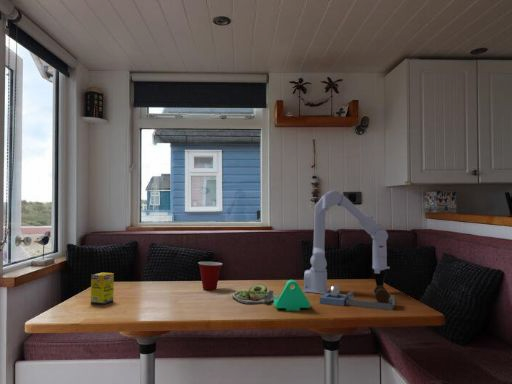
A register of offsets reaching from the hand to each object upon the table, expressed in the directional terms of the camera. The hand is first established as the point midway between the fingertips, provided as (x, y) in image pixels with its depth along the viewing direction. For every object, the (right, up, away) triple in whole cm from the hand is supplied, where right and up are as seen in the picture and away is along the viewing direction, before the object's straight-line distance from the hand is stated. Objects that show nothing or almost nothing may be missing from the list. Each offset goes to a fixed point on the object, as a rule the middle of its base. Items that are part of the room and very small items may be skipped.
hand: (379, 288), depth 165 cm
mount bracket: (-10, -1, -21) cm, 23 cm away
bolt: (-3, -2, -10) cm, 11 cm away
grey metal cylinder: (-22, -1, -17) cm, 28 cm away
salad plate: (-53, -2, -11) cm, 54 cm away
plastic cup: (-73, -2, +6) cm, 73 cm away
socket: (-23, -1, -17) cm, 28 cm away
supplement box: (-111, -1, -18) cm, 113 cm away
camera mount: (-40, -1, -25) cm, 47 cm away
